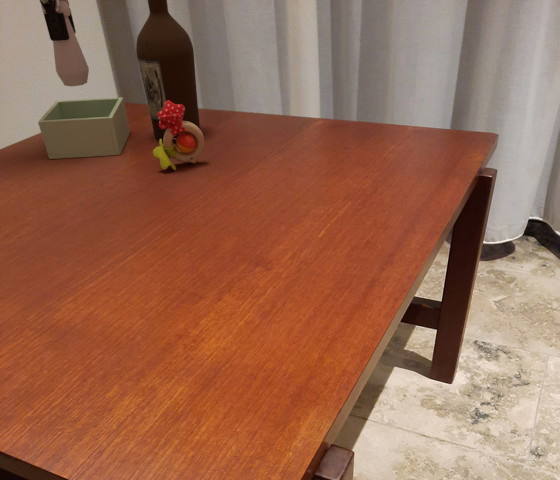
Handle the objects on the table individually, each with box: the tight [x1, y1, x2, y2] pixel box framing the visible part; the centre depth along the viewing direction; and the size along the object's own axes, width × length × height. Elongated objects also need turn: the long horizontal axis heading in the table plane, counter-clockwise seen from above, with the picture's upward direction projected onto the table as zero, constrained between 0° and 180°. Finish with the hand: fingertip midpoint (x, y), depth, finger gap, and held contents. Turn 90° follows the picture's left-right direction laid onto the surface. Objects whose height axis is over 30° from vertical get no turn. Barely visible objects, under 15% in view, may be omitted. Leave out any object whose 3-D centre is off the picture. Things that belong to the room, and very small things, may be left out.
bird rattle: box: [152, 100, 205, 172], centre depth 98 cm, size 6×11×9 cm
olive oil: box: [135, 0, 201, 143], centre depth 106 cm, size 11×11×25 cm
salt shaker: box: [52, 0, 90, 87], centre depth 99 cm, size 6×6×13 cm
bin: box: [37, 96, 131, 160], centre depth 109 cm, size 14×14×7 cm
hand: (63, 36), depth 98 cm, fingers closed on salt shaker, 4 cm apart
